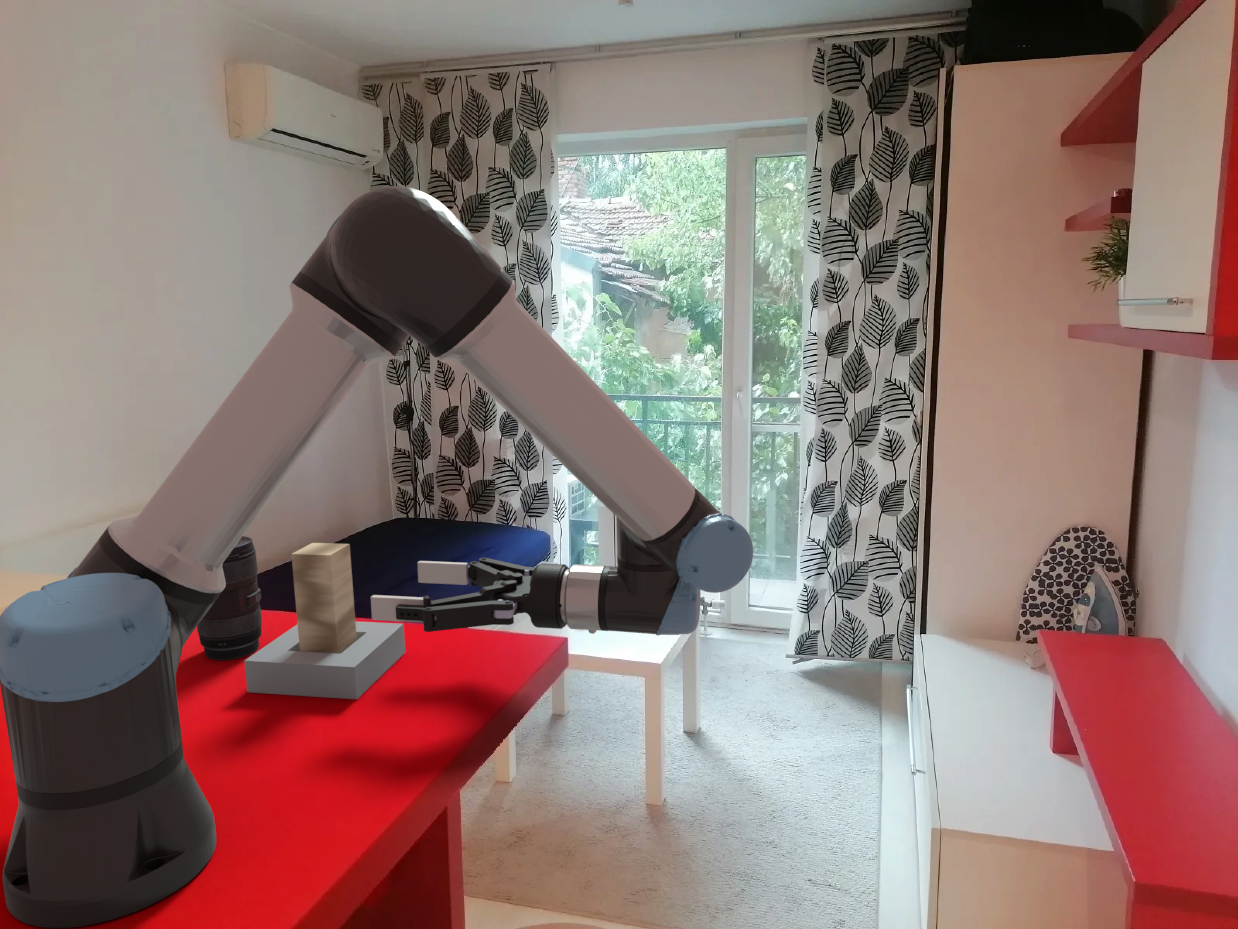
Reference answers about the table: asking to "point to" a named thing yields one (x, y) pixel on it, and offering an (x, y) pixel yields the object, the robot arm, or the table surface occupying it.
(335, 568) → the peg
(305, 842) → the table surface
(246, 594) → the camera lens
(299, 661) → the socket block
